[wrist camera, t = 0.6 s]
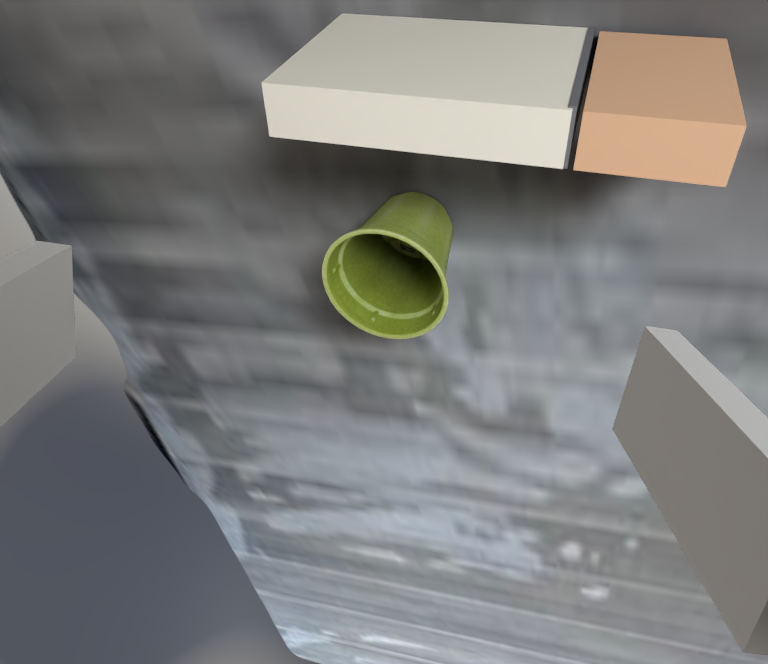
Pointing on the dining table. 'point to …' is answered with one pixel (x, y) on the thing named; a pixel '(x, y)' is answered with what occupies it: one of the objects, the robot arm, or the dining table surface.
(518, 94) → the block
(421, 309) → the plant pot
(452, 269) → the dining table surface
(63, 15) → the dining table surface
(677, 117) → the tan rectangular block
